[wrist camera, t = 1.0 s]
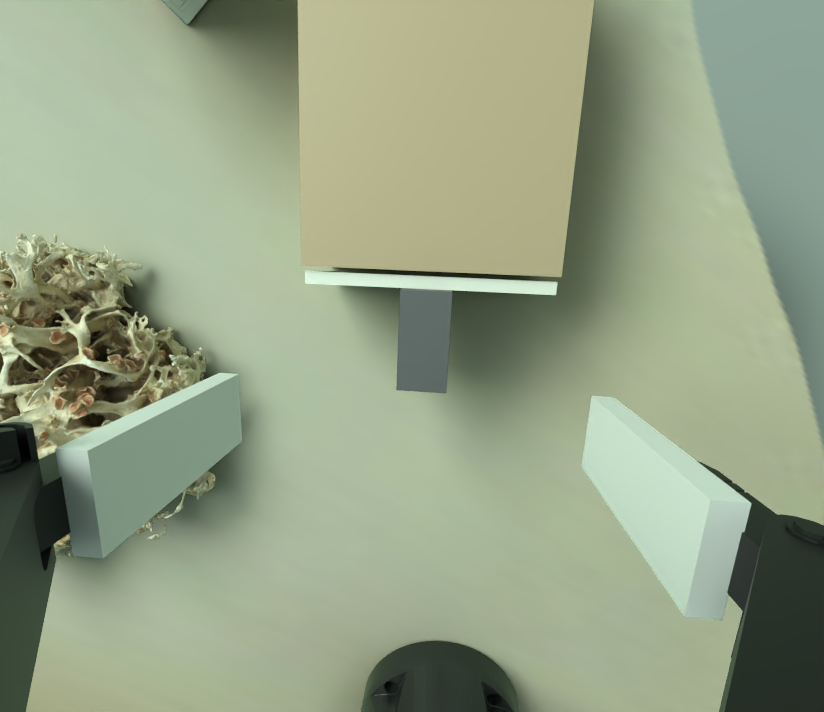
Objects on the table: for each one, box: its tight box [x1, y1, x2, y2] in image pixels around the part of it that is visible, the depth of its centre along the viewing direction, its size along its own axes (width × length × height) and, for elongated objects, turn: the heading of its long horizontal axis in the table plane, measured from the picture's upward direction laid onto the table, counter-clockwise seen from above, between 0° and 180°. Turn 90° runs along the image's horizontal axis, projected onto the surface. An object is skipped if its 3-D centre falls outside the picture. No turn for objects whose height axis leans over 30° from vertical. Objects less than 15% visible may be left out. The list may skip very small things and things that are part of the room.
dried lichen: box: [0, 218, 215, 556], centre depth 31 cm, size 27×30×11 cm
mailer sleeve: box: [298, 0, 594, 277], centre depth 26 cm, size 20×16×7 cm
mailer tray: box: [305, 271, 557, 393], centre depth 25 cm, size 26×16×8 cm, turn 177°
